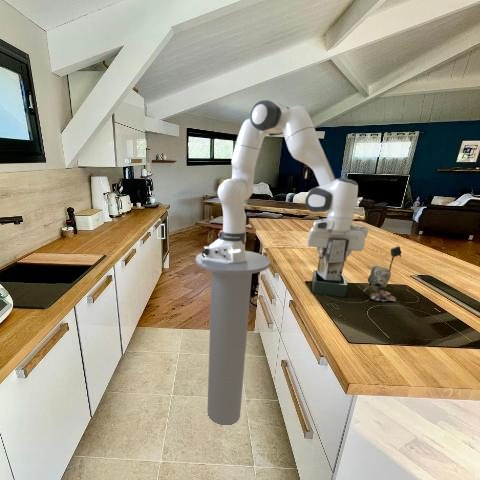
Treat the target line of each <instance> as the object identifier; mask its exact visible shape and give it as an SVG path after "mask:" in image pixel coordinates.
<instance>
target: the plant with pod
mask: <svg viewBox="0 0 480 480" xmlns="http://www.w3.org/2000/svg"><path fill="white" fill-rule="evenodd" d="M390 255H391V261H390V264H389V268H387V267H382V266H379V265H375V266H373V267H372V268H371V271H370V274H369V276H368V278H367V282H368V283H369V284H368V285H367V286H366V287H365V289H363V291H362V292H363V293H364V292H367V290H368V289H369V288H370V287H371V286H374V287H377V288H378V292H375V293H374V292H373V293H369V298H370V299H371V300H373V301H378V302H387V301H393V302H397V297H395V296H394V295H392V294H391V292H388V291H387V290H386V289H387V286H388V283H389V281H390V278H391V276H392V275H391V274H392V272H391V269H392V264H393V262H394V259H395V258H396V257H398V256H399V257H400V258H402V250H401V247H400V246H399V245H397V246H395V247H392V248H390ZM383 289H384V291H383Z"/></svg>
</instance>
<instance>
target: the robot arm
mask: <svg viewBox="0 0 480 480" xmlns="http://www.w3.org/2000/svg"><path fill="white" fill-rule="evenodd" d="M280 135H283V137H284V140H285V143H286V147H287V149H288V152H289V153H290V155H291V157H292V158H293V159H294V160H296V161H299V162H300V163H303V164H305V165H306V166H307V167H309V168H310V169H311V170H312V171H313V173H314V176H315V178H316V180H317V183H318V186H316V187H312V188H311V189H309V190H308V192H306V195H305V198H304V203H305V207H306V209H307V210H308V211H309V212H311V213H317V214H319V213H327V214H326V215H327V216H326V217H325V218H319V219H316V220H314V221H313V224H312V225H313V226H312V227H311V228H310V230H309V233H308V236H307V239H306V245H307V246H308V247H310V248H311V247H312V248H316V251H317V259H319V258H320V259H322V256H323V254H322V253H320V252H321V248H327V244H328V240H329V238H342V239H348V240H349V243H348V248H347V253H346V257H345V262H347V260H348V259H347V258H348V257H349V256H350V255H351V254H352V251H354V252H362V251H363V250H364V248H365V242H366V238H367V236H368V233H369V230H368V228H367V227H365V226H364V225H355V224H354V225H353V219H354V210H355V208H356V206H357V200H358V195H359V185H358V182H357V181H355V180H353V179H349V178H344V177H337V178H336V176H335V174H334V172H333V169H332V166H331V164H330V161H329V159H328V158H327V155H326V154H325V151H324V149H323V147H322V144H321V142H320V140H319V137H318V134H317V131H316V128H315V125H314V123H313V121H312V118H311V116H310V114H309V112H308V110H307V109H306V108H305V107H304V106H303V105H294V106H291V107H288V106H285V104H282V103H279V102H275V101H271V100H268V99H264V100H263V99H262V100H260V101H258V102H256V103H255V104H254V105H253V106H252V109H251V110H250V115H249V118H247V119H245V120H244V121H243V122H242V125H241V127H240V129H239V132H238V135H237V137H236V142H235V146H234V149H233V154H232V157H231V168H232V169H231V170H232V171H231V173H232V174H231V178H228V179H226V180H224V181H223V182H221V183H220V185H219V186H218V187H217V197H218V199H219V200H220V204H221V209H222V229H220V230H219V232H218V235H217V236H218V238H217V239H215V240H214V241H212V242H211V243H210V244H209V245H208V246H207V245H206V246H205V245H204V246H203V250H202V251H201V253H202V259H203V260H206V261H212V262H218V263H224V264H233V263H241V262H244V261H246V260H247V259H246V254H245V251H246V243H247V242H246V241H247V232H246V229H247V227H246V225H247V214H246V211H245V205H244V202H245V201H247V200H248V199H249V198H251V196H252V195H253V192H254V180H255V172H256V166H257V162H258V159H259V155H260V152H261V148H262V144H263V142H264V139H265V137H266V136H269V137H273V136H280Z"/></svg>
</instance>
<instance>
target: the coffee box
mask: <svg viewBox="0 0 480 480" xmlns="http://www.w3.org/2000/svg"><path fill="white" fill-rule="evenodd" d="M348 243H349V240H348V239H342V238H329V240H328V244H327V248H321V250H320V253H322V254H323V256H322V259H320V258H318V264H317V269H316V270H317V273H318V274H319V275H320V276H321V277H322V278H323V279H325V280H338V281H340V280H341V275H342V273H343V270H344V267H345V262H346V261H345V257H346V253H347V248H348Z"/></svg>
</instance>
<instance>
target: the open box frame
mask: <svg viewBox="0 0 480 480" xmlns="http://www.w3.org/2000/svg"><path fill="white" fill-rule="evenodd" d="M311 285H312V294H314V295H315V294H316V295H323V296H332V297H341V298H345V297H346V293H347V289H348V283H347V280H346V277H345V275H344V272H342V275H341V280H340V281H338V280H325V279H323V278H322V277H321V276H320V275H319V274H318V273H317V269H316V270H315V269H313V272H312V279H311Z"/></svg>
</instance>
